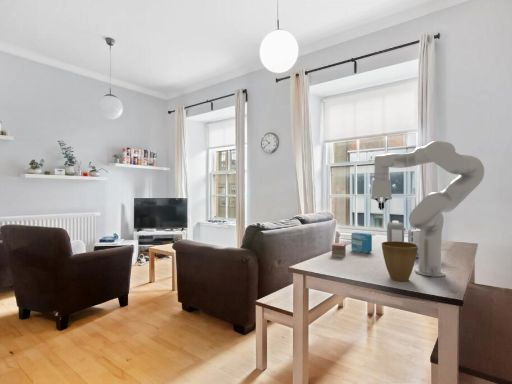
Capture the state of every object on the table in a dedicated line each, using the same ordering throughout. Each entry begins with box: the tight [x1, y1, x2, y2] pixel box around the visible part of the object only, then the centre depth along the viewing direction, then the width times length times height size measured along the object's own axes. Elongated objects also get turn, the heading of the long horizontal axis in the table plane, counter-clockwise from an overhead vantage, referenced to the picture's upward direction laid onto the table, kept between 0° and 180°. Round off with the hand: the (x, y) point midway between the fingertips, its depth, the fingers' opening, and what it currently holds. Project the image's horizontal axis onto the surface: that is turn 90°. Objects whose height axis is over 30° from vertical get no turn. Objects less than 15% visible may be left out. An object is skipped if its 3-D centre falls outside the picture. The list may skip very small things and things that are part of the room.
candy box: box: [407, 229, 420, 260], centre depth 176 cm, size 14×6×16 cm, turn 84°
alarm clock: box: [386, 220, 405, 242], centre depth 192 cm, size 18×8×20 cm, turn 161°
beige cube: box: [331, 242, 347, 258], centre depth 181 cm, size 7×7×7 cm
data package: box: [350, 231, 373, 254], centre depth 193 cm, size 12×4×12 cm, turn 41°
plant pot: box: [381, 241, 418, 282], centre depth 135 cm, size 15×15×16 cm
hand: (381, 209), depth 167 cm, fingers closed
